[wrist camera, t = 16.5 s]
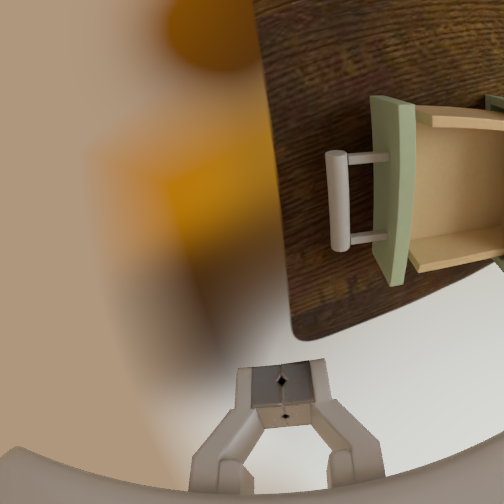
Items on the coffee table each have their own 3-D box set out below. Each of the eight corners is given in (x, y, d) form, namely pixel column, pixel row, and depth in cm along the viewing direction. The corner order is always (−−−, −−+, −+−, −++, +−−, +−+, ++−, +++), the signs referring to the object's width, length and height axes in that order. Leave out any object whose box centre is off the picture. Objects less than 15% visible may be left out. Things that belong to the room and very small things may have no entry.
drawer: (325, 259, 26) (336, 296, 22) (310, 99, 18) (325, 107, 14) (497, 231, 24) (522, 257, 20) (513, 106, 16) (548, 119, 12)
